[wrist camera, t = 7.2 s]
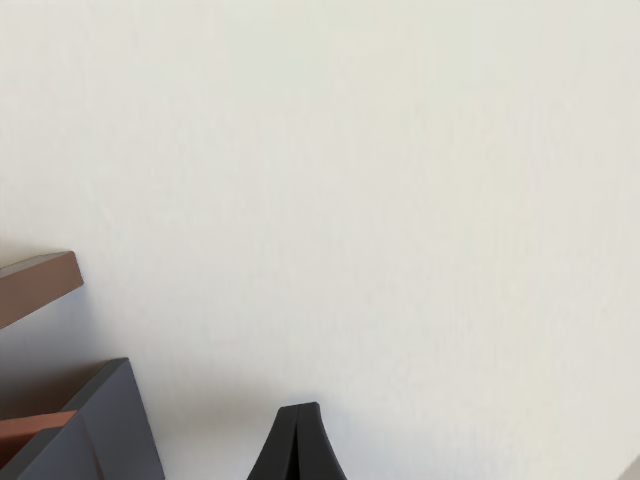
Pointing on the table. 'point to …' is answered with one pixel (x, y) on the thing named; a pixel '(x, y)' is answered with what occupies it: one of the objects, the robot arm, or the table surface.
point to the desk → (36, 284)
